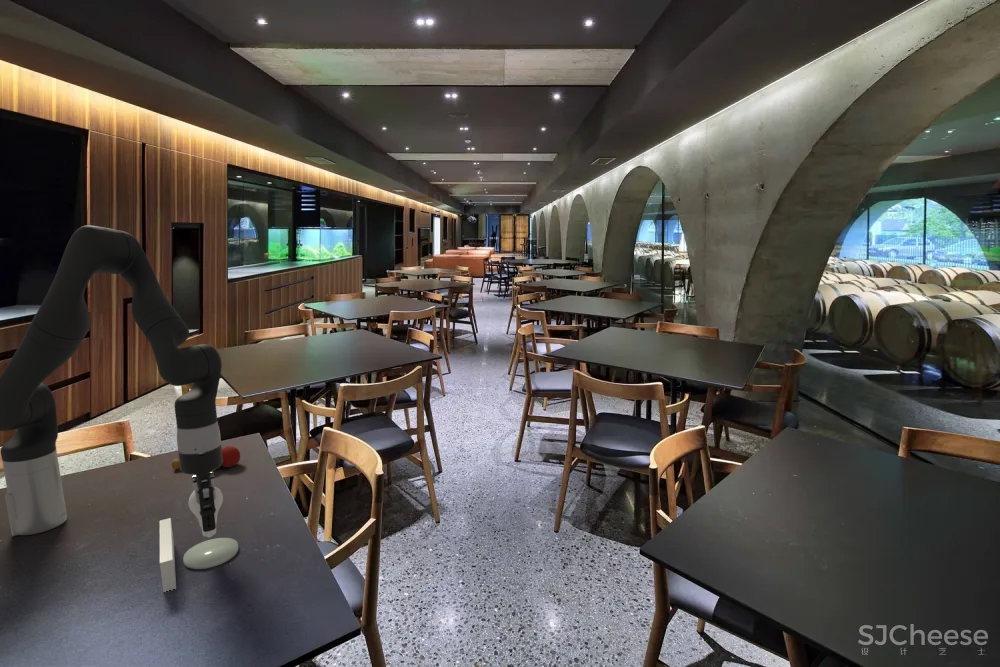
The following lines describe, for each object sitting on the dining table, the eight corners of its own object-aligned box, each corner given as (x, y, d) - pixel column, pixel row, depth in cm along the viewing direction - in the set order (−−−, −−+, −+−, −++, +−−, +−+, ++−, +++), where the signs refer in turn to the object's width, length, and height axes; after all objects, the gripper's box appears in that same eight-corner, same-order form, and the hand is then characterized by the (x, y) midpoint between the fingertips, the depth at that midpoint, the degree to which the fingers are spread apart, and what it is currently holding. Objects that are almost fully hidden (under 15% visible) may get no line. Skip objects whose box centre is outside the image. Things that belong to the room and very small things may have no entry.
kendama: (168, 480, 148) (235, 468, 150) (165, 458, 148) (231, 446, 150) (182, 473, 155) (245, 461, 157) (179, 452, 155) (242, 440, 157)
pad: (184, 575, 103) (184, 571, 103) (182, 550, 111) (182, 547, 111) (241, 558, 108) (241, 555, 108) (235, 536, 116) (235, 533, 116)
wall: (163, 592, 98) (159, 563, 97) (162, 546, 113) (159, 520, 112) (176, 589, 99) (172, 559, 98) (173, 543, 114) (170, 517, 113)
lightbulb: (216, 544, 106) (210, 493, 104) (186, 544, 106) (180, 493, 104) (232, 528, 112) (227, 479, 110) (203, 528, 112) (198, 479, 110)
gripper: (176, 438, 110) (185, 514, 112) (179, 461, 98) (188, 545, 101) (217, 431, 114) (225, 504, 116) (224, 452, 102) (232, 534, 105)
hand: (208, 523), depth 108 cm, fingers closed on lightbulb, 5 cm apart
